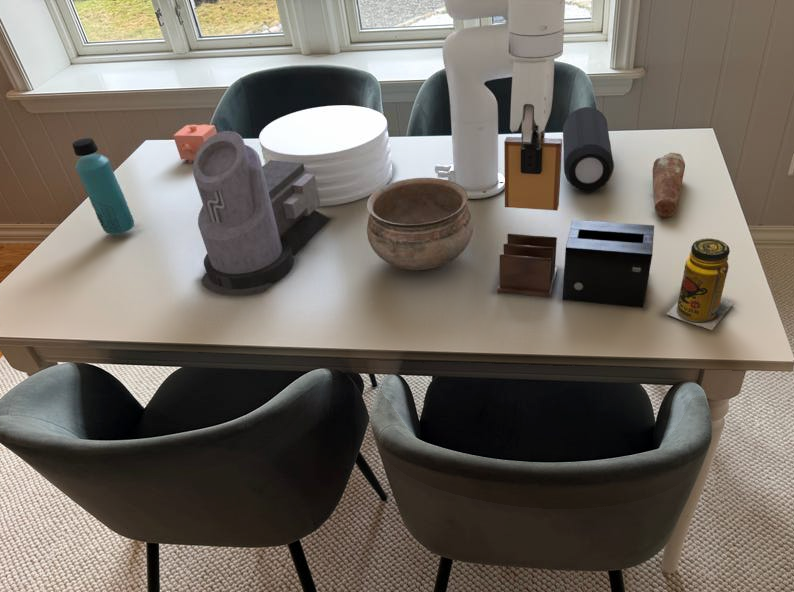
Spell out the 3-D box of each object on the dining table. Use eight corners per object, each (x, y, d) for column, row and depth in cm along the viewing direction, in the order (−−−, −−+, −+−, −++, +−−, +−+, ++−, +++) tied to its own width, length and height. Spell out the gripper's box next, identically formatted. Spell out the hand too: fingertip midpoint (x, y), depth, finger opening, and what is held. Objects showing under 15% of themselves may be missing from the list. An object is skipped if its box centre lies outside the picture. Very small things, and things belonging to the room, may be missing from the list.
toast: (504, 207, 108) (504, 141, 101) (506, 202, 110) (506, 136, 103) (557, 210, 106) (560, 143, 99) (558, 205, 107) (562, 138, 100)
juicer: (260, 302, 116) (221, 169, 101) (185, 288, 122) (138, 160, 106) (339, 220, 137) (317, 99, 121) (273, 211, 142) (244, 94, 127)
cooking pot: (453, 305, 112) (450, 241, 104) (349, 292, 117) (338, 230, 109) (488, 231, 129) (487, 172, 122) (397, 223, 135) (390, 165, 127)
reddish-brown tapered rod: (682, 177, 141) (687, 152, 137) (677, 221, 127) (682, 194, 124) (651, 175, 142) (655, 150, 139) (643, 218, 129) (647, 191, 125)
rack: (497, 292, 114) (496, 256, 109) (506, 266, 120) (506, 231, 115) (550, 297, 111) (552, 261, 107) (557, 270, 117) (559, 235, 113)
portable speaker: (612, 196, 137) (617, 149, 130) (562, 196, 138) (565, 150, 132) (604, 145, 156) (608, 102, 149) (561, 146, 157) (563, 103, 151)
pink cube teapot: (175, 168, 164) (164, 135, 158) (198, 148, 172) (188, 117, 167) (204, 169, 162) (194, 136, 157) (226, 149, 171) (217, 117, 165)
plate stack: (416, 163, 156) (411, 114, 148) (342, 216, 138) (332, 164, 131) (323, 145, 168) (315, 99, 161) (245, 191, 151) (231, 142, 143)
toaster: (561, 303, 110) (564, 250, 103) (568, 270, 117) (572, 219, 111) (643, 311, 107) (652, 257, 100) (645, 277, 114) (654, 225, 107)
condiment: (665, 315, 105) (678, 249, 98) (688, 290, 110) (702, 225, 102) (711, 331, 102) (728, 264, 94) (733, 304, 106) (750, 238, 99)
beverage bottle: (144, 228, 141) (108, 135, 128) (121, 243, 136) (81, 149, 123) (121, 223, 143) (83, 132, 130) (98, 238, 139) (56, 145, 126)
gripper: (518, 27, 99) (517, 148, 111) (497, 60, 87) (498, 190, 99) (570, 27, 97) (563, 150, 109) (555, 60, 85) (549, 193, 97)
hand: (532, 168), depth 104 cm, fingers closed on toast, 1 cm apart
